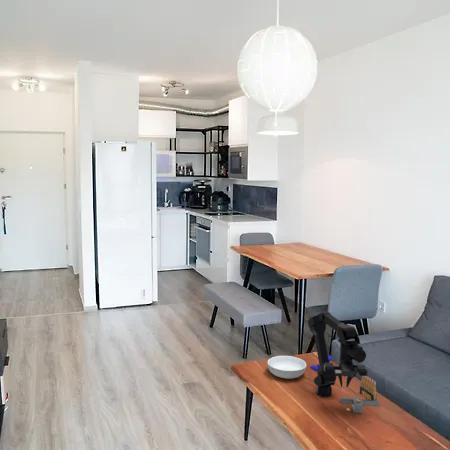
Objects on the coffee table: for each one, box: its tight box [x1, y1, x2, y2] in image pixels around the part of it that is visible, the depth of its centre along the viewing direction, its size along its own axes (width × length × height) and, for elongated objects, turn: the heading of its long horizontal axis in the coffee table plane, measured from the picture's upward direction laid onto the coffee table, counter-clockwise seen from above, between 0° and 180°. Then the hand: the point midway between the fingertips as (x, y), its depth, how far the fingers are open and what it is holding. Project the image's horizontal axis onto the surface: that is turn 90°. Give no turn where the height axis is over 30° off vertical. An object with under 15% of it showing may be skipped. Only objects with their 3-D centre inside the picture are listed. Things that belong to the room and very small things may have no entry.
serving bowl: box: [267, 355, 307, 380], centre depth 251 cm, size 21×21×7 cm
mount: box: [309, 354, 338, 377], centre depth 256 cm, size 15×8×9 cm, turn 30°
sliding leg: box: [351, 395, 364, 414], centre depth 213 cm, size 4×8×5 cm, turn 173°
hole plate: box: [339, 396, 381, 412], centre depth 212 cm, size 18×13×3 cm
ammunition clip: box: [359, 375, 377, 400], centre depth 224 cm, size 11×2×12 cm, turn 20°
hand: (344, 387), depth 211 cm, fingers open, 2 cm apart
